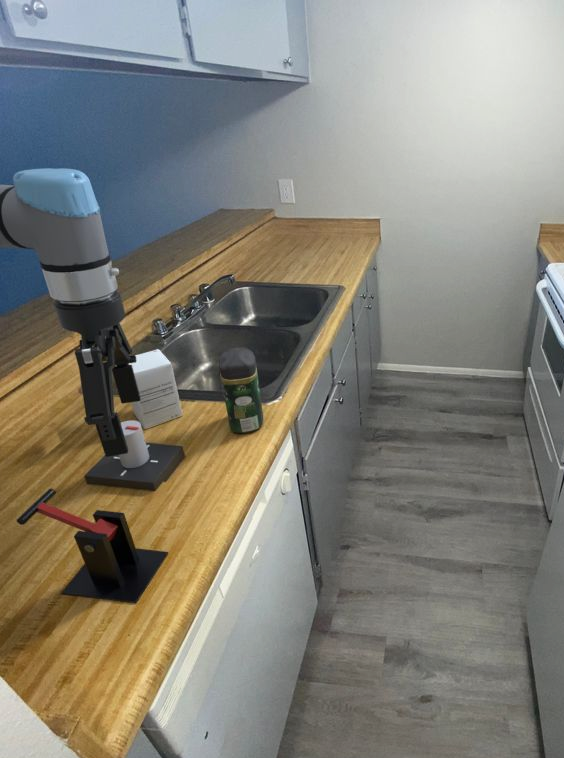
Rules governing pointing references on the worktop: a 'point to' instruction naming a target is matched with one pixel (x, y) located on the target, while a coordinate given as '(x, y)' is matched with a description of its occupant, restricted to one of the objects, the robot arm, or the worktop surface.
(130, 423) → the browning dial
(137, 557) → the black lever stand
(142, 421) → the white product box
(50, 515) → the red lever
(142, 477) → the dial panel
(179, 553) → the worktop surface
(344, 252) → the worktop surface
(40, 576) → the worktop surface
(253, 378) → the coffee jar
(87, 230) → the robot arm
